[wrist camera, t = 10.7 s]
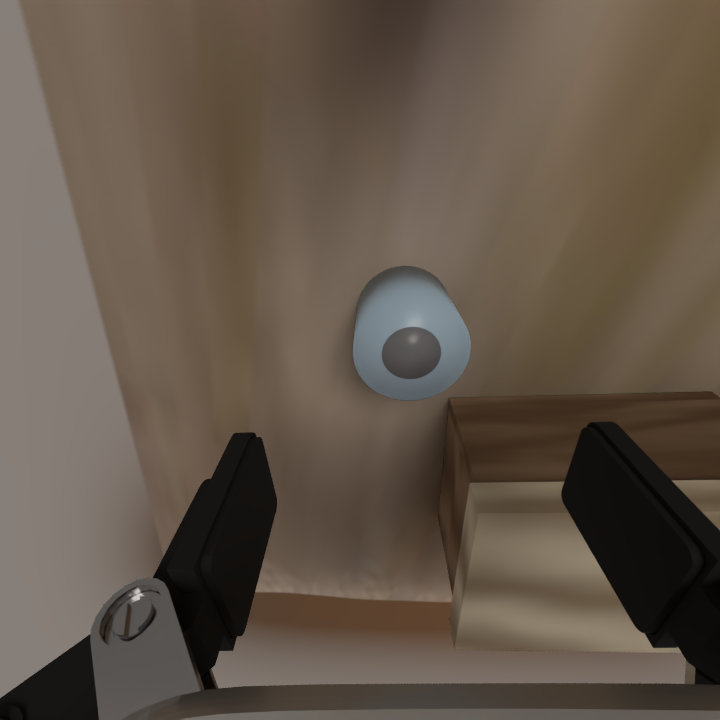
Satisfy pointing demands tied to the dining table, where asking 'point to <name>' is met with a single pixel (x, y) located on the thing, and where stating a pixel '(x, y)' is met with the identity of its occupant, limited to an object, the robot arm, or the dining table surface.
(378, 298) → the blue cylinder with recess
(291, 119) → the dining table surface
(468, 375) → the dining table surface
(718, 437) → the box
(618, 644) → the lid
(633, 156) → the dining table surface
